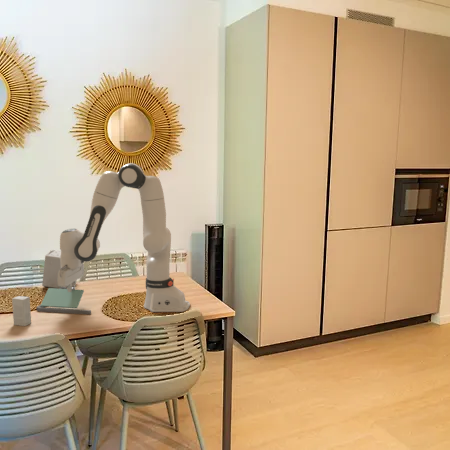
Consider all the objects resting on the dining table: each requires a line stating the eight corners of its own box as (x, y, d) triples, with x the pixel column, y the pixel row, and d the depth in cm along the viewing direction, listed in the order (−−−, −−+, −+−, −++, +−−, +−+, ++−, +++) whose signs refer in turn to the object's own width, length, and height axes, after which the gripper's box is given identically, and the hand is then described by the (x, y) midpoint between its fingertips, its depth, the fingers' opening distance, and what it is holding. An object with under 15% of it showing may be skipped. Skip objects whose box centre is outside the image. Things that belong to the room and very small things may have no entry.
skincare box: (31, 323, 205) (30, 296, 203) (25, 326, 201) (23, 299, 199) (20, 321, 206) (18, 295, 205) (13, 324, 202) (11, 298, 201)
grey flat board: (100, 306, 228) (99, 303, 227) (90, 314, 216) (89, 311, 216) (47, 303, 231) (47, 300, 231) (35, 311, 220) (35, 307, 220)
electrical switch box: (68, 292, 256) (72, 257, 253) (41, 288, 256) (45, 253, 253) (77, 284, 271) (80, 251, 268) (51, 280, 270) (54, 247, 267)
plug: (69, 301, 234) (68, 287, 233) (65, 304, 230) (65, 289, 229) (61, 301, 235) (61, 286, 233) (58, 303, 231) (57, 289, 230)
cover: (84, 290, 225) (83, 289, 225) (77, 308, 218) (76, 307, 218) (49, 289, 228) (48, 288, 227) (41, 306, 221) (40, 305, 220)
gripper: (66, 268, 211) (67, 297, 213) (85, 258, 231) (86, 285, 233) (53, 267, 211) (54, 297, 214) (73, 257, 231) (74, 284, 234)
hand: (71, 290), depth 223 cm, fingers closed
